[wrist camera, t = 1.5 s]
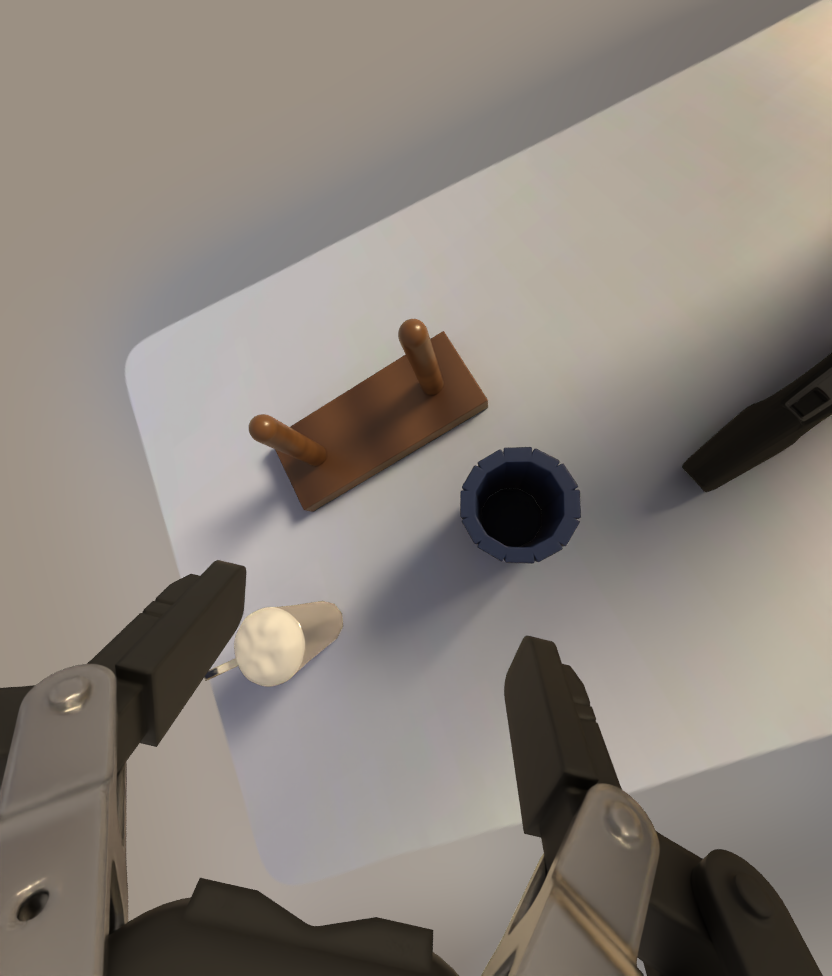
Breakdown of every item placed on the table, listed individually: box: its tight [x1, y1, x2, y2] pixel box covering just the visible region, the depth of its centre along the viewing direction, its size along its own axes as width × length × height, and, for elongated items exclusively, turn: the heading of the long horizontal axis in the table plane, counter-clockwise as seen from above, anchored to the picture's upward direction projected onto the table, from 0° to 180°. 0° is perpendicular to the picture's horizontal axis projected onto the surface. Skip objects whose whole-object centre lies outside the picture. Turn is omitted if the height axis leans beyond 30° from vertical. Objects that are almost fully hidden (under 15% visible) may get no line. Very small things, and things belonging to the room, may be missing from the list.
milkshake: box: [204, 601, 343, 687], centre depth 27 cm, size 4×5×10 cm
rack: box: [249, 319, 488, 512], centre depth 28 cm, size 17×7×10 cm, turn 119°
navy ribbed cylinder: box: [460, 447, 581, 563], centre depth 25 cm, size 6×6×10 cm
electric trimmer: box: [682, 353, 832, 492], centre depth 26 cm, size 4×16×3 cm, turn 125°
